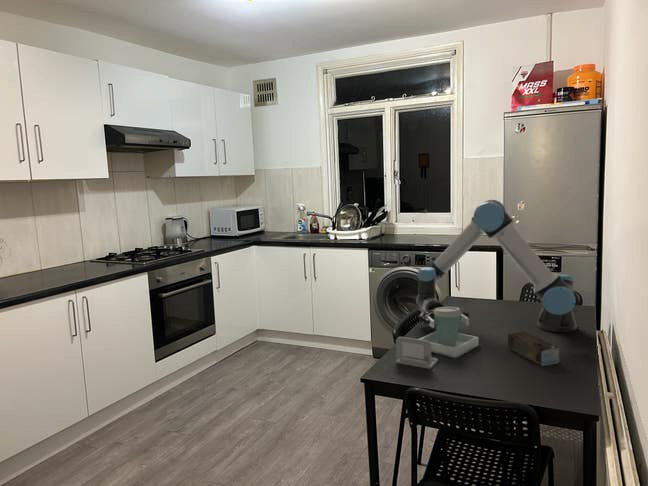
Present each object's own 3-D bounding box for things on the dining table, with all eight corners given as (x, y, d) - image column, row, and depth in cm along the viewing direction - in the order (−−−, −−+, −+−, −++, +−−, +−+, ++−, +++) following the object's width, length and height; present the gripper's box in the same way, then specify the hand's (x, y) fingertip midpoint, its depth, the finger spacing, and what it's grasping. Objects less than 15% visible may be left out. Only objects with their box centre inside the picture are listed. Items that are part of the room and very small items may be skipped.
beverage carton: (540, 367, 172) (541, 349, 171) (506, 349, 190) (507, 332, 190) (560, 364, 174) (560, 346, 173) (524, 346, 192) (525, 330, 192)
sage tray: (478, 345, 194) (478, 337, 194) (455, 358, 182) (455, 349, 182) (440, 336, 206) (440, 328, 206) (417, 348, 194) (417, 339, 194)
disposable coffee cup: (427, 345, 195) (427, 308, 193) (444, 338, 202) (444, 302, 200) (450, 351, 187) (450, 313, 185) (466, 344, 194) (467, 307, 192)
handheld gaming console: (438, 360, 181) (438, 334, 180) (430, 369, 174) (430, 342, 172) (405, 355, 188) (404, 329, 187) (395, 363, 180) (395, 337, 179)
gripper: (462, 315, 212) (482, 330, 191) (405, 319, 210) (418, 335, 189) (462, 298, 211) (482, 311, 190) (404, 301, 209) (418, 316, 188)
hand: (450, 323), depth 190 cm, fingers open, 13 cm apart
